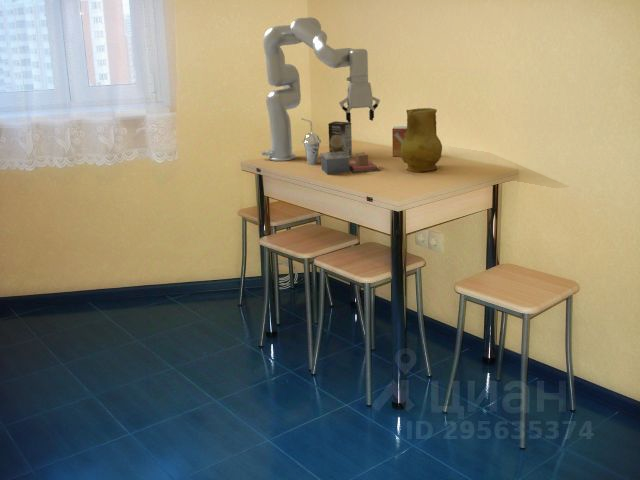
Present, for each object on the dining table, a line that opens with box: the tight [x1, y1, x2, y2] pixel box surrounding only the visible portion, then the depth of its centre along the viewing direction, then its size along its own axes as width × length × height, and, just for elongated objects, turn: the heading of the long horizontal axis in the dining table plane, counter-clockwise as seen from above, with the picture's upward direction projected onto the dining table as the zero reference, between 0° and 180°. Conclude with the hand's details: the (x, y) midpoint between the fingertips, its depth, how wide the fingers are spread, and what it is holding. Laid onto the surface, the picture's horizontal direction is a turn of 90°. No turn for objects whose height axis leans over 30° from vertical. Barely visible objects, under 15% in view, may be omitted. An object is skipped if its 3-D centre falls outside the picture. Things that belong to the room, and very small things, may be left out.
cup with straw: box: [301, 118, 322, 166], centre depth 326 cm, size 8×9×20 cm
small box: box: [391, 125, 407, 157], centre depth 335 cm, size 8×6×13 cm
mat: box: [350, 167, 381, 174], centre depth 314 cm, size 12×16×1 cm
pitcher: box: [400, 107, 443, 173], centre depth 304 cm, size 17×19×25 cm
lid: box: [349, 152, 378, 171], centre depth 314 cm, size 10×12×6 cm
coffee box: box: [327, 120, 353, 158], centre depth 337 cm, size 9×6×16 cm
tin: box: [319, 151, 351, 176], centre depth 311 cm, size 10×12×7 cm
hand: (360, 121), depth 309 cm, fingers open, 9 cm apart
